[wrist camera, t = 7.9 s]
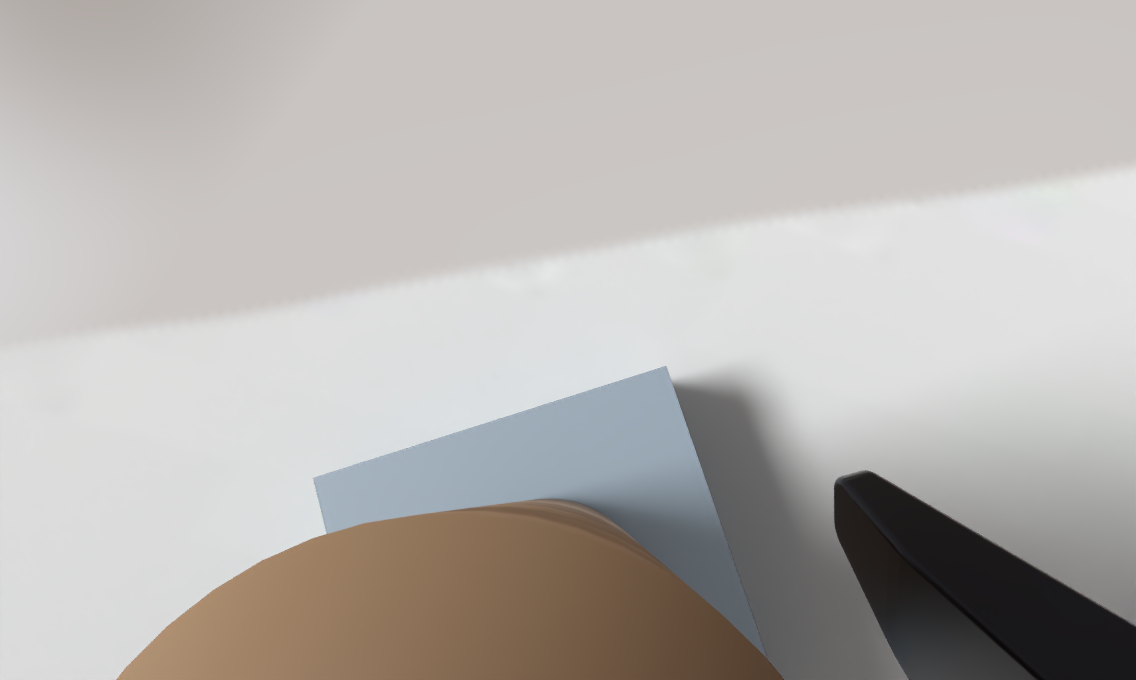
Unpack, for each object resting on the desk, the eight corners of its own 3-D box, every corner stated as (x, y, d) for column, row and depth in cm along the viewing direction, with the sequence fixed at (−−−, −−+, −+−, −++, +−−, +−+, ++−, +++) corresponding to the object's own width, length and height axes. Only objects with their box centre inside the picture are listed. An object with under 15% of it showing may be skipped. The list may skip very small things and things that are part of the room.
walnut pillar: (700, 615, 18) (1100, 1022, 4) (540, 773, 17) (381, 1869, 4) (555, 454, 19) (481, 346, 5) (397, 601, 18) (-190, 944, 4)
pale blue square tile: (765, 706, 20) (797, 742, 17) (436, 818, 20) (411, 875, 17) (654, 382, 22) (666, 365, 19) (349, 479, 22) (312, 477, 19)
